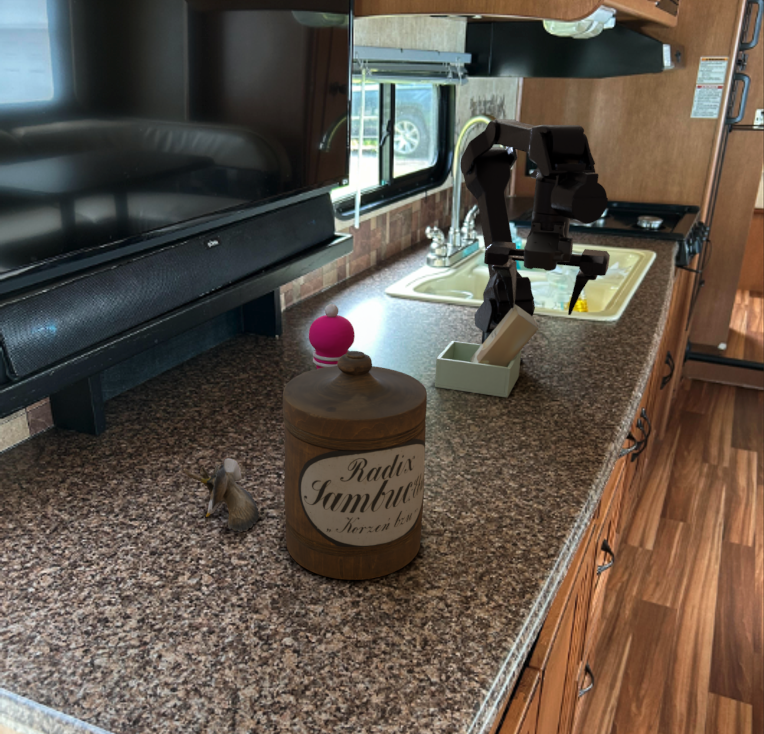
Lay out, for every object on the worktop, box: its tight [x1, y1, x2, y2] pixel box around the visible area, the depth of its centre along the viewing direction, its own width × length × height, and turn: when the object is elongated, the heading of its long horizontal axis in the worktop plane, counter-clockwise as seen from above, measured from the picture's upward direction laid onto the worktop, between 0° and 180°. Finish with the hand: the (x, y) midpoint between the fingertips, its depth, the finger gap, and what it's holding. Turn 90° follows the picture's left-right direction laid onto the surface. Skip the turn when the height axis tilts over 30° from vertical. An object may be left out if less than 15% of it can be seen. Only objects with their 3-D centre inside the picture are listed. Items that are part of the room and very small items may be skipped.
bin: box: [434, 340, 522, 399], centre depth 129 cm, size 12×10×5 cm
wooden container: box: [282, 350, 428, 581], centre depth 80 cm, size 15×15×22 cm
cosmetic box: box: [470, 305, 540, 367], centre depth 128 cm, size 6×4×12 cm
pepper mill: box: [308, 303, 356, 369], centre depth 103 cm, size 7×7×20 cm
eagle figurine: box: [182, 457, 260, 533], centre depth 89 cm, size 8×7×9 cm
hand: (540, 311), depth 124 cm, fingers open, 9 cm apart
